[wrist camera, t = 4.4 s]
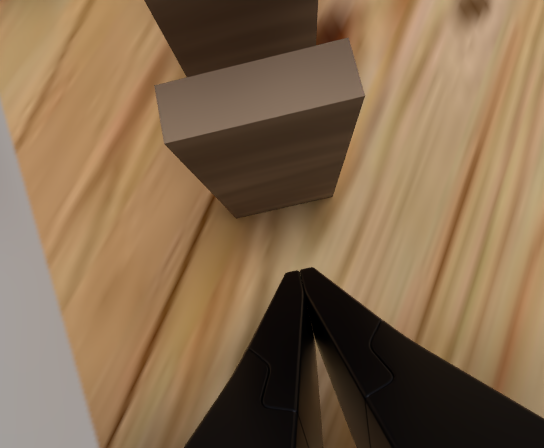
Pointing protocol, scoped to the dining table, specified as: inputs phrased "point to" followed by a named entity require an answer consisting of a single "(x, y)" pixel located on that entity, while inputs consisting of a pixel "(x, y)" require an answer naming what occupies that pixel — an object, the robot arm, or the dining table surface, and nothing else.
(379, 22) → the dining table surface
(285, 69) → the domino
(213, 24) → the domino
